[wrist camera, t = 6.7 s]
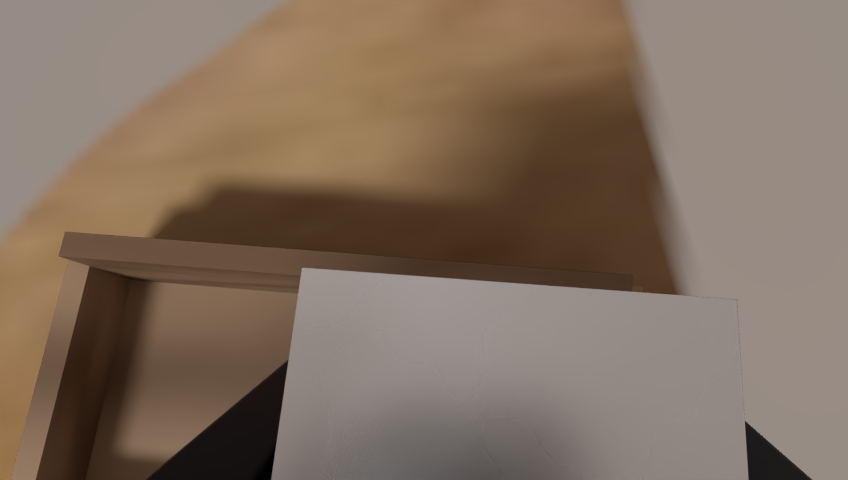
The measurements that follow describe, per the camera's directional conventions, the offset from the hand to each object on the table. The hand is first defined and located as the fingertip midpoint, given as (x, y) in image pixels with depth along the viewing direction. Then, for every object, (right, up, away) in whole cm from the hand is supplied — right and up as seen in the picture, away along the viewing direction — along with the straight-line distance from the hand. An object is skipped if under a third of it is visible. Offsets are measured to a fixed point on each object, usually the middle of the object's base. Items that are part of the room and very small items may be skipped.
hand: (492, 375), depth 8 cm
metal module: (0, -3, +6) cm, 6 cm away
